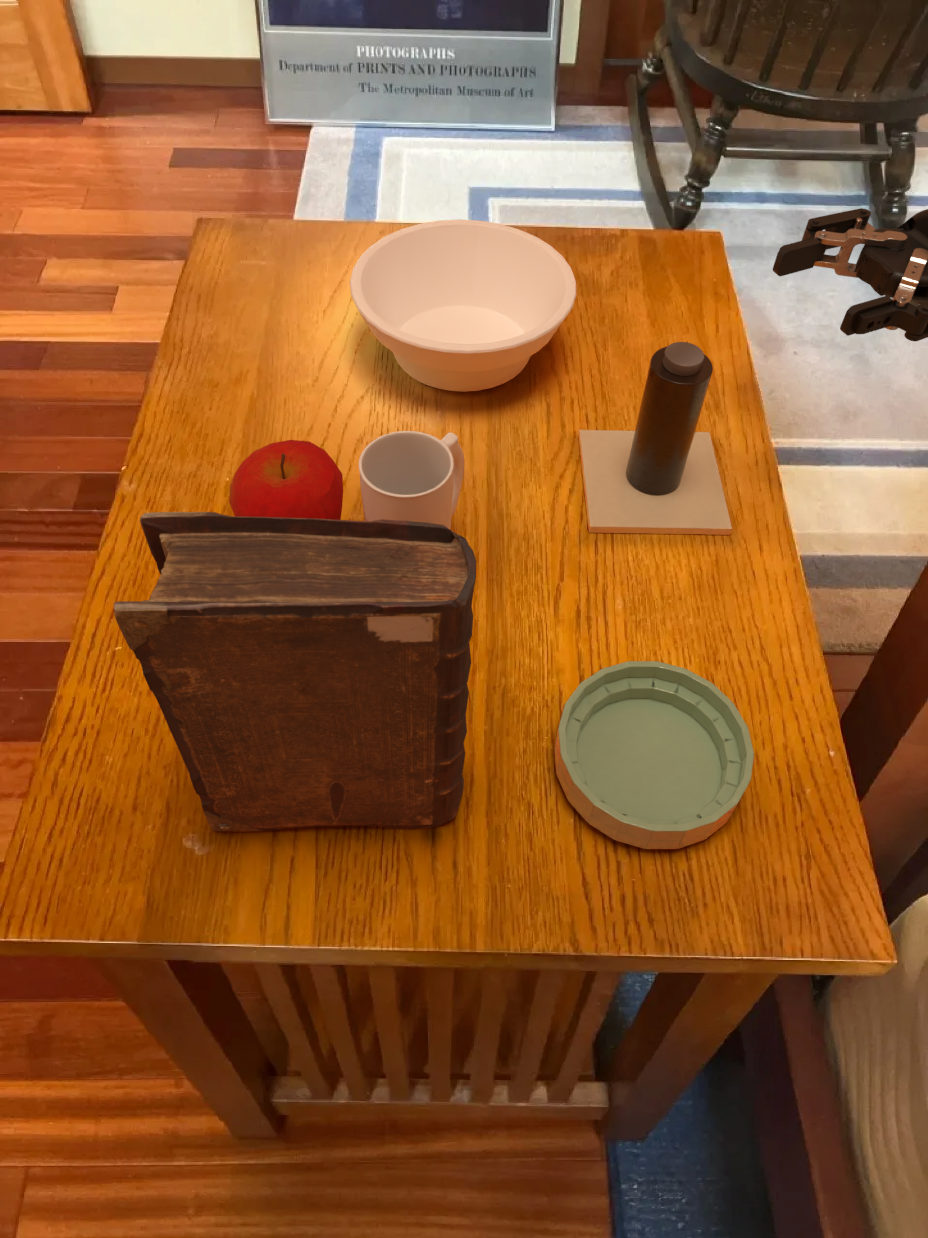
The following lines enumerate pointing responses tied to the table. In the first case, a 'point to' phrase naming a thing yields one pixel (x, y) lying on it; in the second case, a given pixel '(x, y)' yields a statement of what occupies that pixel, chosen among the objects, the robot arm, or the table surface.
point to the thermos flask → (668, 417)
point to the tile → (635, 512)
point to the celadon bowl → (652, 754)
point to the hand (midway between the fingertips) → (811, 291)
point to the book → (310, 666)
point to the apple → (288, 483)
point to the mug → (411, 477)
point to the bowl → (462, 300)
